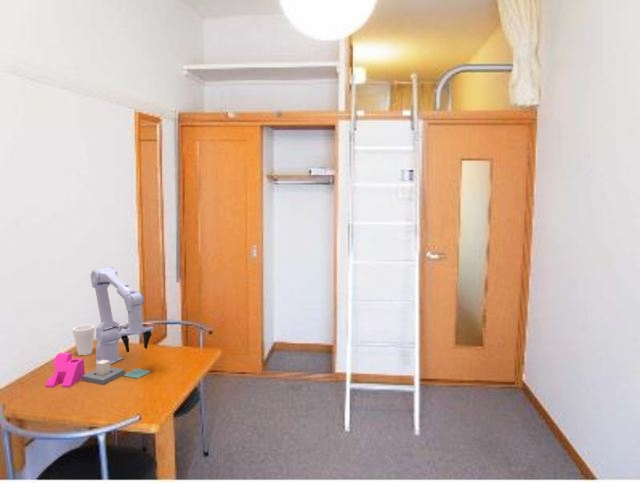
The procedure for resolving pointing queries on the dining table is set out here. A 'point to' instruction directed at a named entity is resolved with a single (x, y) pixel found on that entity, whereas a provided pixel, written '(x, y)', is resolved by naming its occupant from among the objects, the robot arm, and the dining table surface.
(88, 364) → the dining table surface
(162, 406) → the dining table surface
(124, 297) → the robot arm
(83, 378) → the pocket board
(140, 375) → the pad
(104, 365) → the block
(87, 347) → the foam cup
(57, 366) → the bracket
